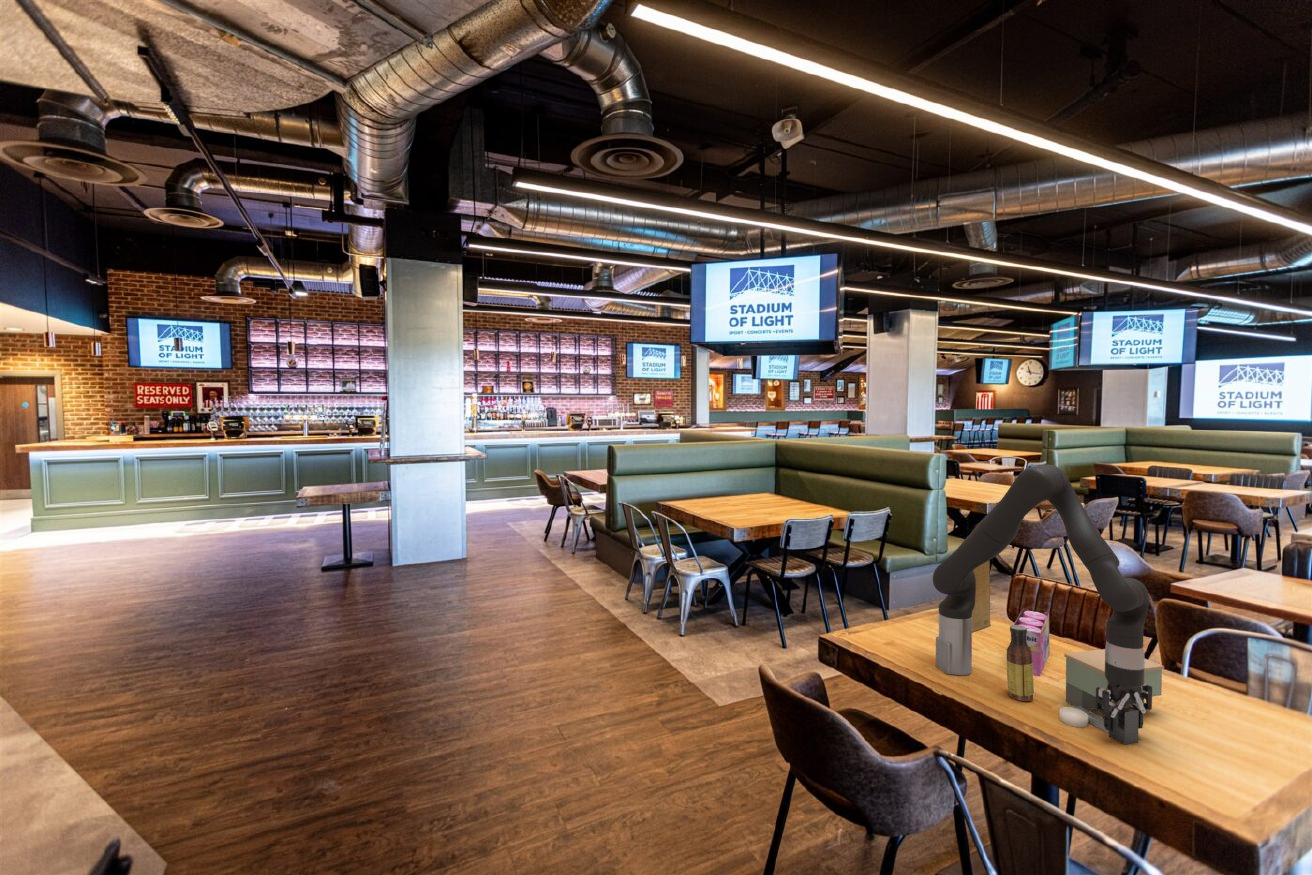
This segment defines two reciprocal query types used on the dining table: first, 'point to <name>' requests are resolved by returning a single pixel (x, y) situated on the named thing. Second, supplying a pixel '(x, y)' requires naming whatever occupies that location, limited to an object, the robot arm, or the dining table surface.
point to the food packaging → (982, 598)
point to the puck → (1074, 717)
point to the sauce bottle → (1019, 665)
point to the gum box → (1036, 637)
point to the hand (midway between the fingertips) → (1123, 728)
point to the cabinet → (1099, 677)
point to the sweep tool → (1118, 724)
